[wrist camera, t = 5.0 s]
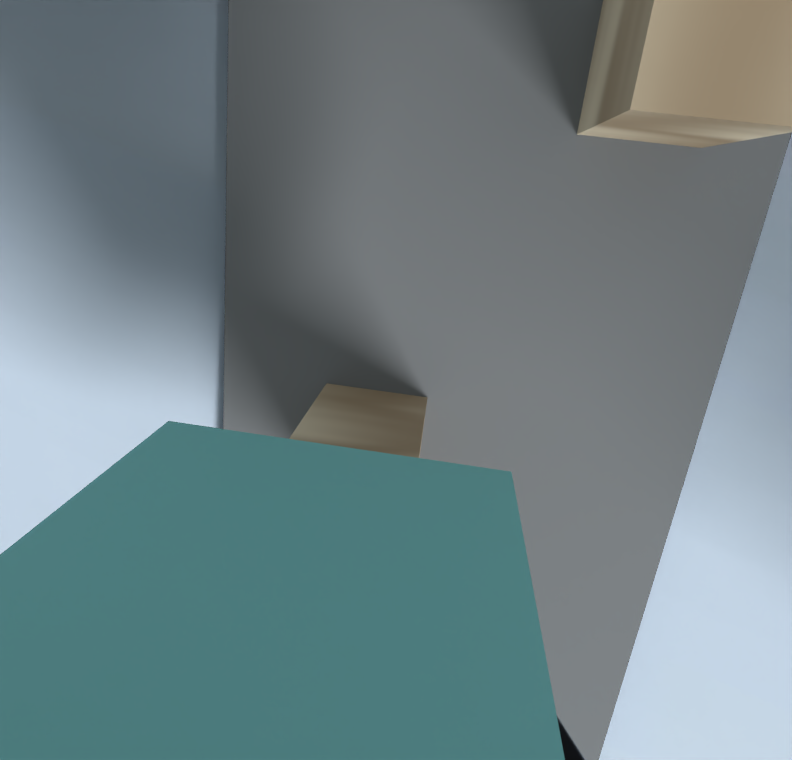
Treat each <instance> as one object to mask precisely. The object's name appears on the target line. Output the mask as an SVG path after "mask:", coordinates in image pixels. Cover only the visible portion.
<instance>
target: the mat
mask: <svg viewBox="0 0 792 760" xmlns="http://www.w3.org/2000/svg"><path fill="white" fill-rule="evenodd" d="M602 4H603V0H228V80H227V163H226V246H225V328H224V411H223V429H226V430H233V431H239V432H246V433H253V434H260V435H266V436H273V437H280V438H287V439H289V438H290V437H291V435H292V434H293V432H294V431H295V429H296V428H297V426H298V425H299V423H300V422H301V420H302V419H303V417H304V416H305V414H306V413H307V412H308V410H309V409H310V407H311V406H312V404H313V403H314V401H315V400H316V398H317V397H318V395H319V394H320V392H321V391H322V389H323V388H324V386H325V385H326V383H327V384H335V385H342V386H349V387H356V388H363V389H371V390H378V391H385V392H392V393H400V394H407V395H414V396H421V397H428V398H427V405H426V413H425V420H424V427H423V435H422V442H421V449H420V457H419V458H422V459H429V460H436V461H443V462H449V463H456V464H463V465H470V466H476V467H483V468H490V469H497V470H504V471H510V472H512V477H513V483H514V488H515V493H516V499H517V504H518V510H519V515H520V520H521V526H522V531H523V537H524V542H525V547H526V553H527V558H528V563H529V569H530V574H531V580H532V585H533V590H534V596H535V601H536V607H537V612H538V617H539V623H540V628H541V633H542V639H543V644H544V650H545V655H546V660H547V666H548V671H549V677H550V682H551V687H552V693H553V698H554V703H555V709H556V714H557V716H558V718H559V719H560V721H561V722H562V724H563V726H564V727H565V729H566V730H567V732H568V733H569V735H570V736H571V738H572V740H573V741H574V743H575V744H576V746H577V747H578V749H579V751H580V752H581V754H582V755H583V757H584V758H585V760H598V759H599V756H600V753H601V750H602V746H603V743H604V740H605V737H606V733H607V730H608V727H609V724H610V720H611V717H612V714H613V711H614V708H615V704H616V701H617V698H618V695H619V691H620V688H621V685H622V682H623V678H624V675H625V672H626V669H627V665H628V662H629V659H630V656H631V652H632V649H633V646H634V643H635V639H636V636H637V633H638V630H639V626H640V623H641V620H642V617H643V613H644V610H645V607H646V604H647V600H648V597H649V594H650V591H651V587H652V584H653V581H654V578H655V574H656V571H657V568H658V565H659V562H660V558H661V555H662V552H663V549H664V545H665V542H666V539H667V536H668V532H669V529H670V526H671V523H672V519H673V516H674V513H675V510H676V506H677V503H678V500H679V497H680V493H681V490H682V487H683V484H684V480H685V477H686V474H687V471H688V467H689V464H690V461H691V458H692V454H693V451H694V448H695V445H696V441H697V438H698V435H699V432H700V429H701V425H702V422H703V419H704V416H705V412H706V409H707V406H708V403H709V399H710V396H711V393H712V390H713V386H714V383H715V380H716V377H717V373H718V370H719V367H720V364H721V360H722V357H723V354H724V351H725V347H726V344H727V341H728V338H729V334H730V331H731V328H732V325H733V321H734V318H735V315H736V312H737V308H738V305H739V302H740V299H741V296H742V292H743V289H744V286H745V283H746V279H747V276H748V273H749V270H750V266H751V263H752V260H753V257H754V253H755V250H756V247H757V244H758V240H759V237H760V234H761V231H762V227H763V224H764V221H765V218H766V214H767V211H768V208H769V205H770V201H771V198H772V195H773V192H774V188H775V185H776V182H777V179H778V175H779V172H780V169H781V166H782V163H783V159H784V156H785V153H786V150H787V146H788V143H789V140H790V137H791V133H792V132H791V133H785V134H779V135H773V136H768V137H762V138H756V139H750V140H744V141H738V142H733V143H727V144H721V145H715V146H709V147H704V148H697V147H688V146H679V145H670V144H660V143H651V142H642V141H633V140H623V139H614V138H605V137H596V136H587V135H577V131H578V126H579V121H580V116H581V111H582V106H583V101H584V96H585V91H586V85H587V80H588V75H589V70H590V65H591V60H592V55H593V50H594V45H595V39H596V34H597V29H598V24H599V19H600V14H601V9H602Z"/></svg>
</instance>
